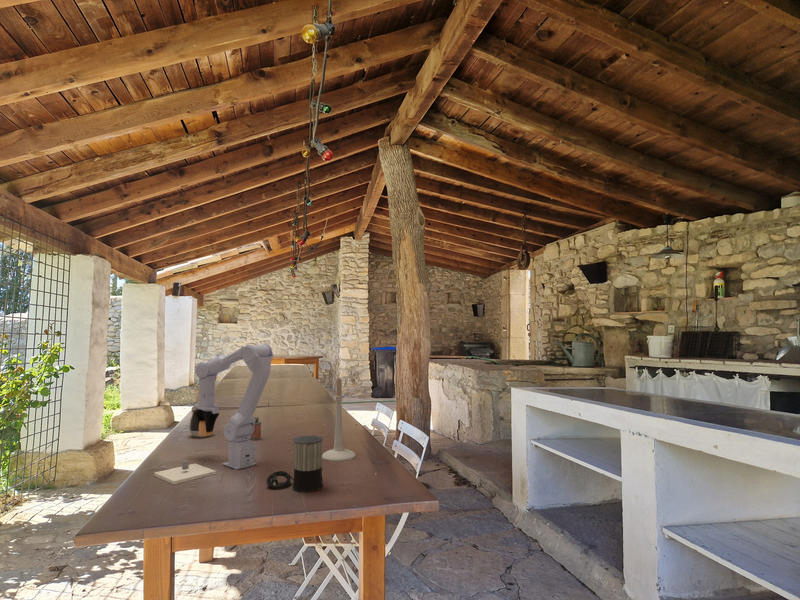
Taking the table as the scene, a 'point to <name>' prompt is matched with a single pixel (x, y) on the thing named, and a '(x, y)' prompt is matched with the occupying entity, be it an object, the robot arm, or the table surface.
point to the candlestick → (338, 433)
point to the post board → (184, 473)
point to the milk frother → (303, 466)
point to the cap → (203, 429)
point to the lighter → (256, 430)
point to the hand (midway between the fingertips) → (205, 430)
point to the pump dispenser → (195, 426)
